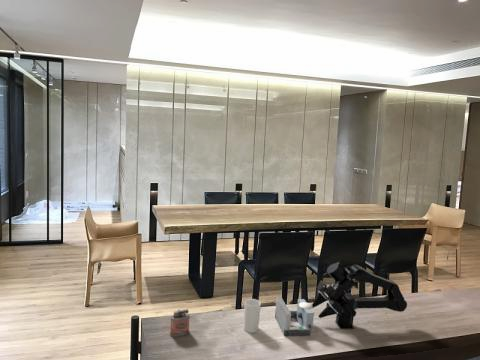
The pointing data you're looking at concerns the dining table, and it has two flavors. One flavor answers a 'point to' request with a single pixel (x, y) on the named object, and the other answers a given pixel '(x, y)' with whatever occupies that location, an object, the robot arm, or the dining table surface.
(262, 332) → the dining table surface
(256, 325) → the mug
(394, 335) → the dining table surface
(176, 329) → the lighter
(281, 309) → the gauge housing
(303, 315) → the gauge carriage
